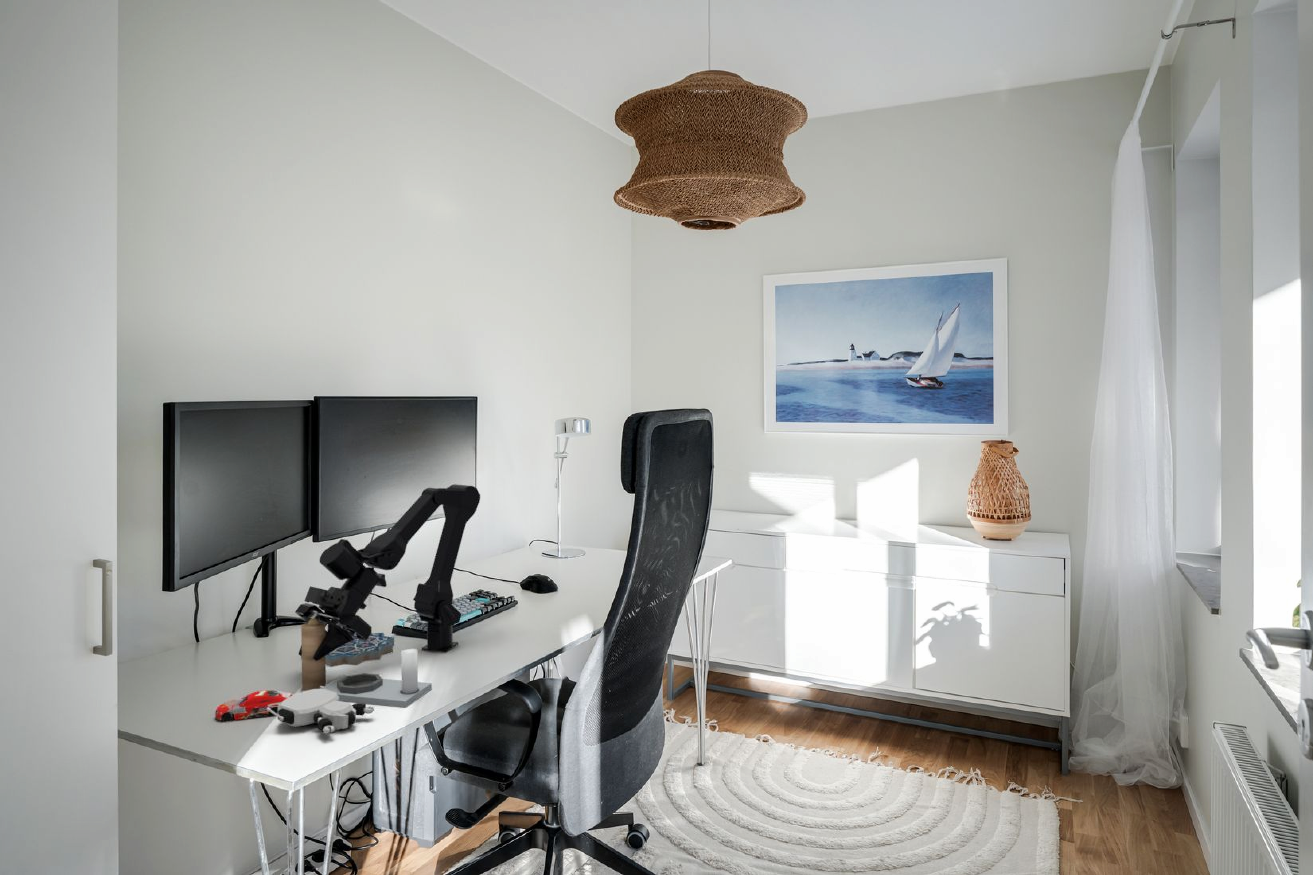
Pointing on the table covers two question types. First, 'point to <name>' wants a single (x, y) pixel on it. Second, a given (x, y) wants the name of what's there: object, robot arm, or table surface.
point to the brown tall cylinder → (310, 642)
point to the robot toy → (319, 710)
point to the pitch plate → (383, 685)
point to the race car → (252, 705)
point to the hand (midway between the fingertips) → (307, 657)
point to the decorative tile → (360, 650)
